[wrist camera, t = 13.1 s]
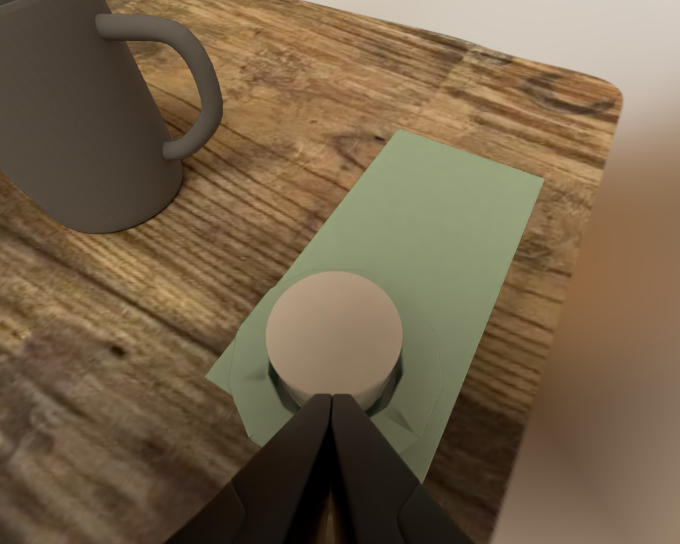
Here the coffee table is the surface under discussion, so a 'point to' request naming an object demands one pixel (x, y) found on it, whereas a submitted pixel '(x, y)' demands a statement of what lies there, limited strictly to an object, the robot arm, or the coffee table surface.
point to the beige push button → (334, 338)
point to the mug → (93, 112)
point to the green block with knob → (402, 285)
